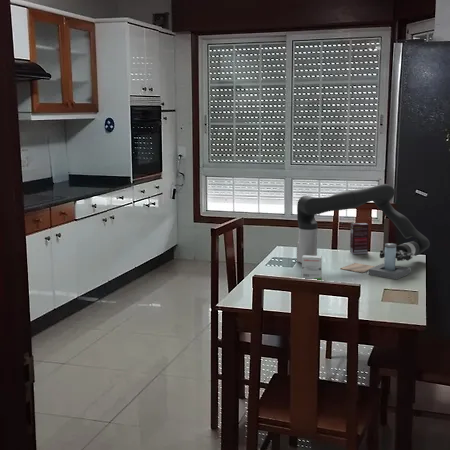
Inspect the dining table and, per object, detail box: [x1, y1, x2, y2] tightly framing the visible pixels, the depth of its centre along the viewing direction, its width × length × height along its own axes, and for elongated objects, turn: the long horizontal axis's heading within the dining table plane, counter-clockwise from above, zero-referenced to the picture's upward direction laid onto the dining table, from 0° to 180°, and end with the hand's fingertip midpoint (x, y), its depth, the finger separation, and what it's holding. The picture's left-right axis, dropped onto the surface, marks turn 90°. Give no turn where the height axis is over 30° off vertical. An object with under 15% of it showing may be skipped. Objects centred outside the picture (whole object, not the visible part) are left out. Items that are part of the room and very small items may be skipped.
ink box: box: [301, 255, 323, 281], centre depth 277 cm, size 9×5×12 cm, turn 78°
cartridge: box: [383, 242, 397, 271], centre depth 290 cm, size 5×5×14 cm
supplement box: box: [349, 222, 370, 255], centre depth 332 cm, size 9×5×16 cm, turn 98°
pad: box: [339, 262, 375, 274], centre depth 301 cm, size 12×14×1 cm
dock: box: [368, 263, 411, 280], centre depth 291 cm, size 14×14×2 cm
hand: (389, 257), depth 289 cm, fingers open, 8 cm apart
